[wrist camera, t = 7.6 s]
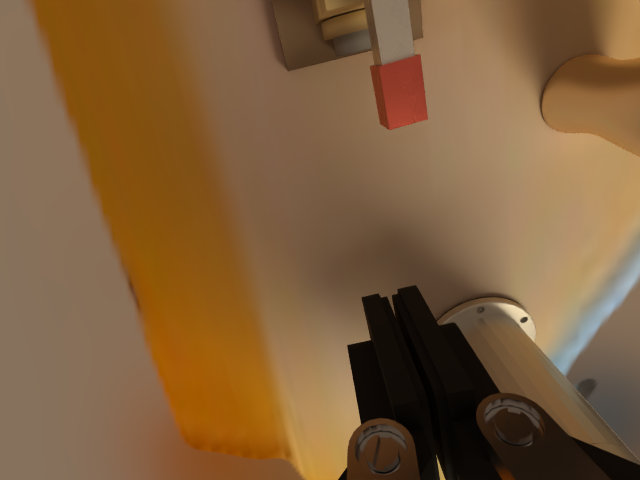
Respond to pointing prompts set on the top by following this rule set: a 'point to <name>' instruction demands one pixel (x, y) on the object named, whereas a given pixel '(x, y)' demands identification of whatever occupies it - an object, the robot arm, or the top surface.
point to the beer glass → (596, 99)
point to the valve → (328, 29)
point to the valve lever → (395, 64)
